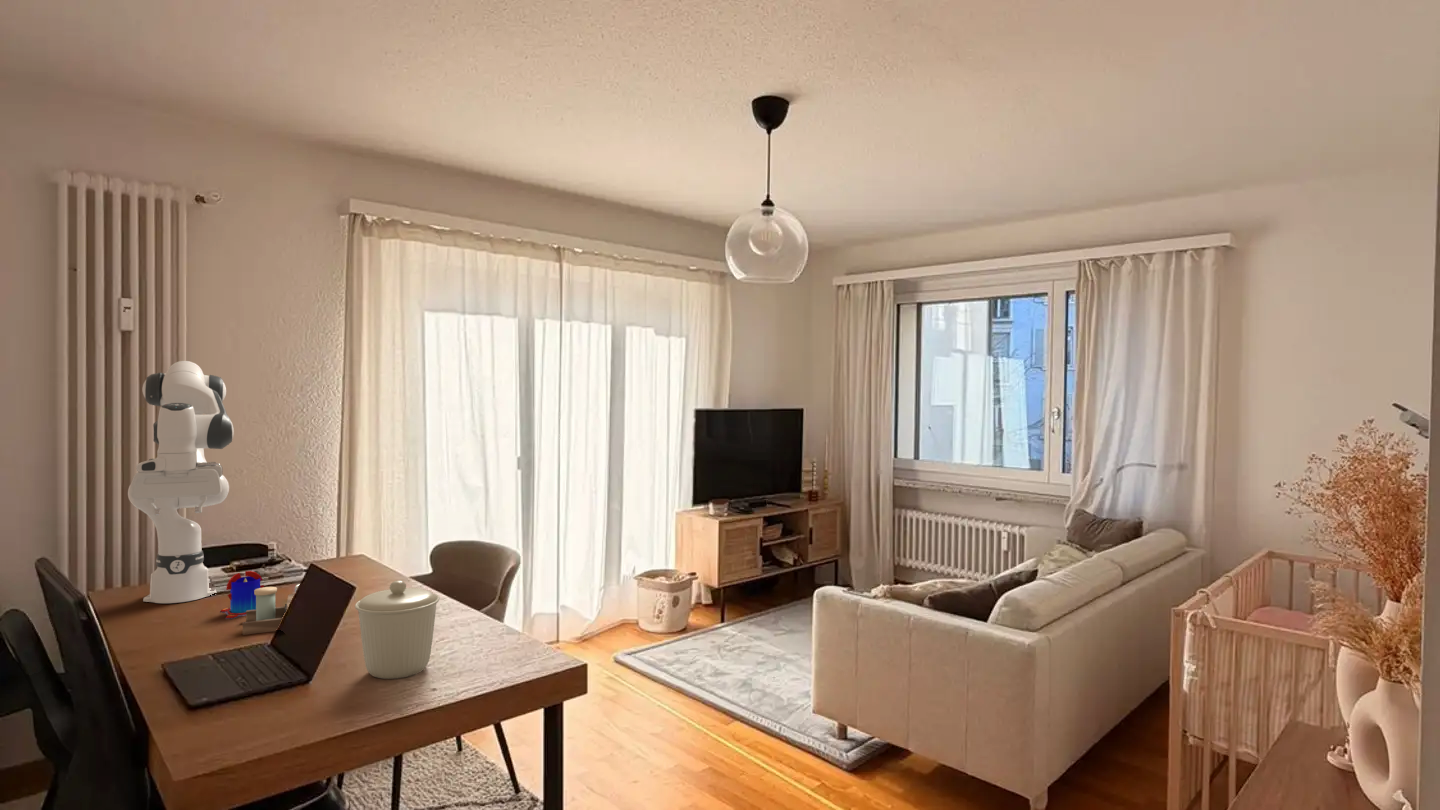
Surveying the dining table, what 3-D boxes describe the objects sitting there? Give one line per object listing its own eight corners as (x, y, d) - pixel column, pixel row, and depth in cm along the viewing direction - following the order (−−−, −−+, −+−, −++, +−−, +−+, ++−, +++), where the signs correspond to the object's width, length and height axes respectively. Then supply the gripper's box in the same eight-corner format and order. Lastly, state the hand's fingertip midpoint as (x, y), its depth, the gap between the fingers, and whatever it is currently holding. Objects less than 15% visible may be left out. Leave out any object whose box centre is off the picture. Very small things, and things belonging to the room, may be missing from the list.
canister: (387, 692, 167) (387, 595, 167) (338, 675, 177) (338, 583, 177) (456, 667, 183) (456, 578, 182) (407, 653, 192) (407, 568, 192)
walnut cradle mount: (246, 620, 219) (246, 598, 219) (294, 614, 225) (294, 594, 224) (242, 636, 205) (242, 613, 205) (293, 629, 210) (293, 607, 210)
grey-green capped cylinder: (255, 624, 216) (254, 588, 215) (277, 621, 218) (277, 586, 218) (253, 629, 211) (253, 592, 211) (276, 626, 213) (276, 590, 213)
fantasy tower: (225, 620, 219) (225, 577, 219) (218, 611, 228) (218, 570, 228) (272, 612, 227) (272, 571, 227) (264, 604, 236) (263, 564, 236)
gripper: (223, 460, 219) (224, 509, 219) (133, 463, 209) (134, 514, 209) (221, 462, 213) (221, 512, 213) (129, 465, 203) (129, 518, 204)
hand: (177, 513), depth 211 cm, fingers open, 8 cm apart
